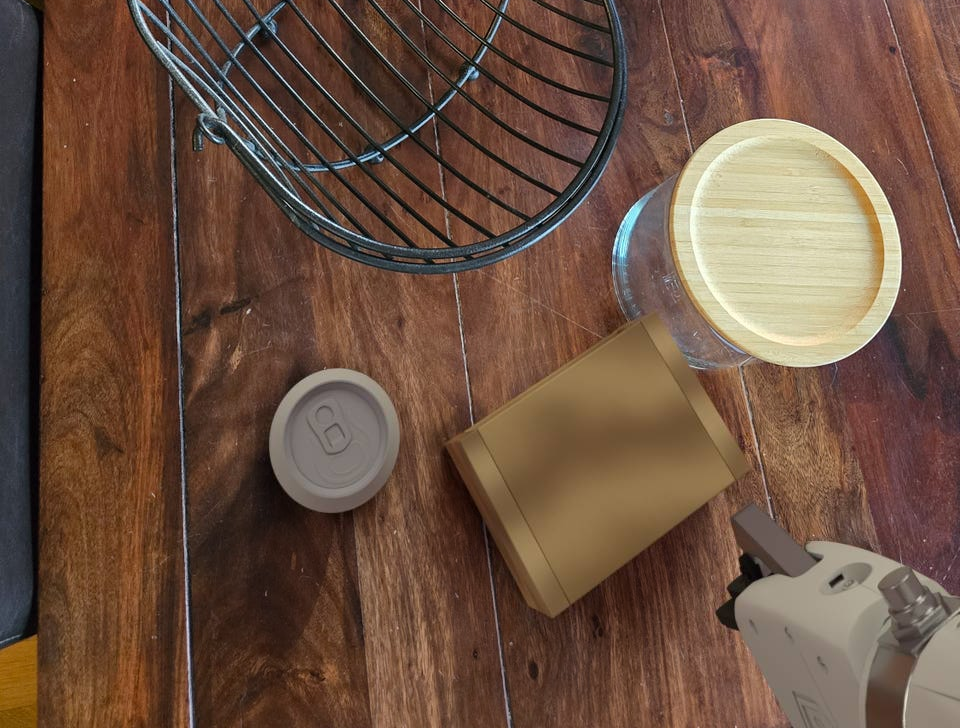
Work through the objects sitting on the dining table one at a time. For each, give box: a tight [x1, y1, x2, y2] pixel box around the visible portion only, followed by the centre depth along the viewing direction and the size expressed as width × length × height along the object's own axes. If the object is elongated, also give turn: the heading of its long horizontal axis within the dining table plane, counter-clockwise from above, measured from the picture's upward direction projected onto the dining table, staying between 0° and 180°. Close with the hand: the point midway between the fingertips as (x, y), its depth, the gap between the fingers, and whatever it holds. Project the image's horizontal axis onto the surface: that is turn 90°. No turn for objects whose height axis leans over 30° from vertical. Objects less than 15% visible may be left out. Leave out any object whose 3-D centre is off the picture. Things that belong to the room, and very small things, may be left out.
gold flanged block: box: [444, 309, 753, 619], centre depth 68 cm, size 10×14×7 cm
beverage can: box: [268, 367, 401, 514], centre depth 65 cm, size 7×7×12 cm
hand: (779, 658), depth 53 cm, fingers open, 4 cm apart
